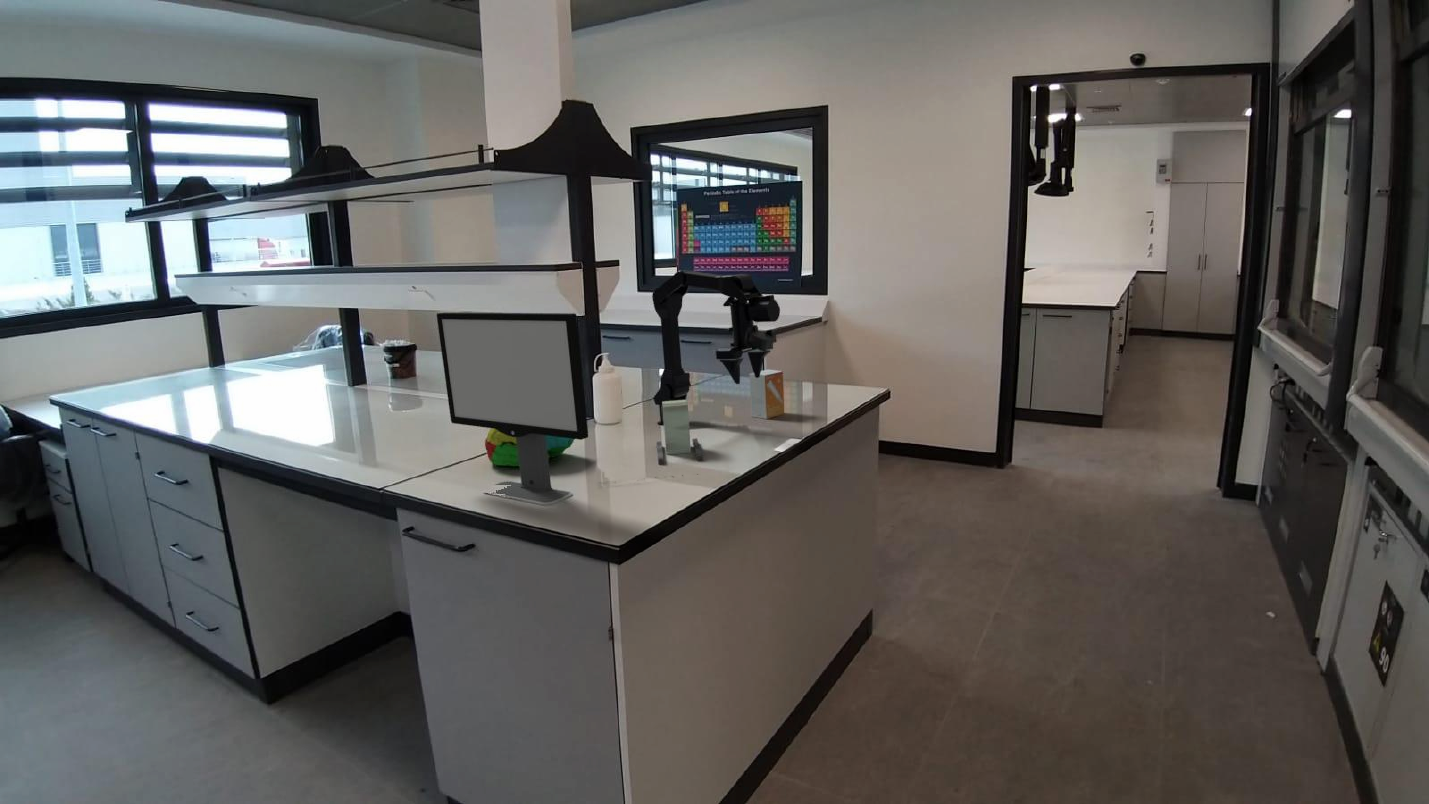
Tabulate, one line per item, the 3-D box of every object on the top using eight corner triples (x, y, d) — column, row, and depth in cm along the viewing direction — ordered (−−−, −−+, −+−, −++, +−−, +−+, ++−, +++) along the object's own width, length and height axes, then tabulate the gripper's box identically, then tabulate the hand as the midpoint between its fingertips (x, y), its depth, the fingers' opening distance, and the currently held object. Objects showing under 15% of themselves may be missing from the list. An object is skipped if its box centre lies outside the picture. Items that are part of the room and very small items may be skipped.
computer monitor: (451, 487, 181) (427, 314, 172) (480, 476, 188) (458, 310, 179) (582, 513, 158) (561, 315, 150) (609, 500, 165) (591, 310, 157)
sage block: (665, 448, 197) (662, 401, 195) (689, 446, 198) (686, 399, 195) (666, 454, 192) (662, 406, 189) (691, 452, 192) (687, 404, 189)
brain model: (592, 449, 204) (584, 393, 201) (557, 472, 186) (548, 411, 183) (514, 452, 211) (505, 398, 208) (473, 473, 194) (462, 415, 191)
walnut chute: (654, 452, 199) (653, 442, 199) (700, 448, 200) (700, 438, 200) (655, 470, 184) (654, 459, 183) (706, 466, 185) (705, 455, 184)
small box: (766, 419, 226) (764, 375, 223) (750, 416, 231) (748, 373, 228) (785, 413, 232) (783, 370, 229) (769, 411, 236) (767, 368, 233)
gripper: (747, 326, 194) (752, 388, 197) (787, 317, 208) (791, 375, 211) (711, 327, 201) (717, 387, 204) (753, 318, 215) (757, 374, 218)
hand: (747, 380), depth 209 cm, fingers open, 9 cm apart
